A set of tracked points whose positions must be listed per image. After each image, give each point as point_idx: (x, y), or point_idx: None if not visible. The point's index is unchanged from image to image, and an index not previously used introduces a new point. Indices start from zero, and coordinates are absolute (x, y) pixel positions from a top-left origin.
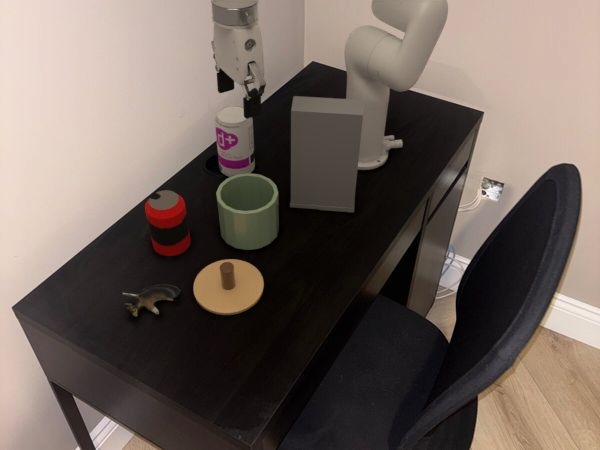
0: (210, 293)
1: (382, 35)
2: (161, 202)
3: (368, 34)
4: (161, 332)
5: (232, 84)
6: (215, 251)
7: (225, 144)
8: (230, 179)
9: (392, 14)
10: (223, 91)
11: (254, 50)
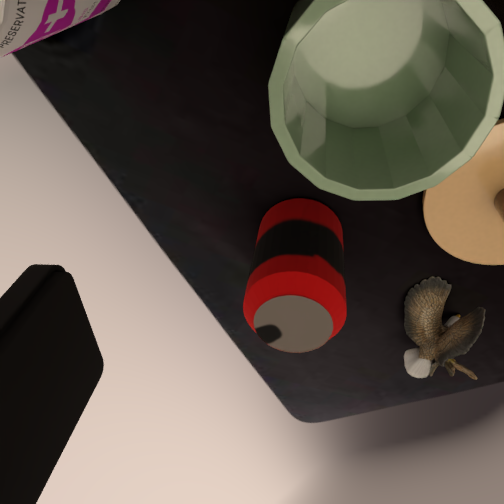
0: (500, 239)
1: None
2: (299, 332)
3: None
4: (494, 323)
5: (46, 317)
6: None
7: (58, 27)
8: (283, 120)
9: None
10: (94, 353)
11: None
